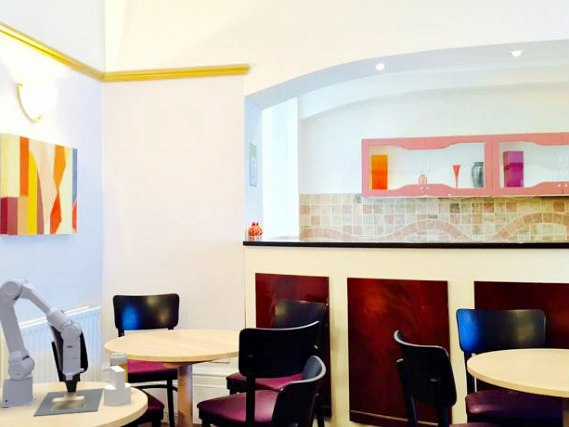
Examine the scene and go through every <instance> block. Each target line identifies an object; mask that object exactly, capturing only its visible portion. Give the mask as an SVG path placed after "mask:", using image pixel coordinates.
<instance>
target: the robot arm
mask: <svg viewBox="0 0 569 427" xmlns="http://www.w3.org/2000/svg"><path fill="white" fill-rule="evenodd" d="M19 299H23V300H29V301H30V302H31V303H32V304H34V305H35V306H36V307H37V308H38V309H40V311H42V312H43V313H44V314H45V316H46V321H47V322H49V323H50V325H51V326H53V327H54V328H55V330H56V331H58V332H60V337H61V339H62V340H63V345H62V351H63V352H62V355H63V356H62V360H63V361H62V368H63V369H62V374H63V376H62V380H63V382H64V384H65V388H66V391H67V392H68V393H69V392H76V390H77V388H78V387H77V386H78V382H79V380H80V377H81V376H82V375H81V374H82V373H81V372H84V371H85V369H84V368H81V337H80V336H81V334H82V331H83V330H82V329H83V328H82V326H81V325H80V323H79V322H77V321H75V320H74V319H73V318H71V317H70V316H68V315H67V314H66V310H65V309H64V308H60V307H54V306H53V305H52V304H51V303H50V302H49V301H48V300H47V299H46V298H45V297H44V295H42V294H41V293H40V291H39V290H38V289H37V288H36V287H35V285H33V284H32V283H31V282H29V281H28V280H27V278H25V277H20V276H18V277H15V278H11V279H8V280H7V279H6V280H5V281H4V282H3V284H1V286H0V325H1V328H2V332H3V336H4V339H5V343H6V346H7V350H8V353H9V355H8V359H7V364H8V368H7V373H8V376H9V378H5V379H4V380H3V383H2V405H1V407H2V408H10V407H19V406H22V407H23V406H31V405H33V403H34V402H35V400H36V397H33V395H34V394H33V393H34V392H33V391H34V390H33V386H34V384H33V382H34V381H33V380H34V379H33V374H32V371H34V369H35V366H36V365H35V363H36V362H35V360H34V359H33V358H32V357H31V354H30V352H29V351H28V350H27V348H26V347H25V344H24V340H23V336H22V332H21V329H20V325H19V322H18V318H17V314H16V311H15V308H14V306H15V305H16V304H17V302H18V301H19Z"/></svg>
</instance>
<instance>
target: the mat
mask: <svg viewBox="0 0 569 427" xmlns="http://www.w3.org/2000/svg"><path fill="white" fill-rule="evenodd" d="M76 392H78V396H85V405H84V408H77V409H65V410H52V401H53V399H54V398H63V397H64V395H65V393H68V392H67V390H63V391H61V390H60V391H49V392H47V393H46V395H45V396H44V398H43V400H42V401H41V402H40V404H39V406H38V408H37V409H36V410H35V412H34V414H33V417H35V418H36V417H43V416H44V417H47V416H59V415H71V414H83V413H96V412H99V411H98V410H99V407H100V403H101V399H102V396H103V394H104V387H102V388H90V389H89V388H88V389H87V388H86V389H76Z"/></svg>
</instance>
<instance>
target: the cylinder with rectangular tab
mask: <svg viewBox="0 0 569 427" xmlns="http://www.w3.org/2000/svg"><path fill="white" fill-rule="evenodd" d="M131 386H132V385H131V383H130V382H128V383H125V370H124V369H122V368H121V367H119V366H113V367H109V383H108V384H106V385H105V386H103V388H104V390H103V405H105V406H109V407H118V406H125V405H127V404H131V403H132V398H131V397H132V396H131V395H132V394H131V392H132V391H131V389H132V387H131ZM130 402H131V403H130Z"/></svg>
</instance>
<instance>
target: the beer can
mask: <svg viewBox="0 0 569 427" xmlns="http://www.w3.org/2000/svg"><path fill="white" fill-rule="evenodd" d="M109 358H110V359H109V362H110V363H109V364H110V367H113V366H119V367H121V368H122V369H124V370H125V383H129V382H128V378H129V377H128V354H127V352H125V351H120V352H119V351H117V352H112V353H111V356H110V357H109ZM110 367H109V368H110Z"/></svg>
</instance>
